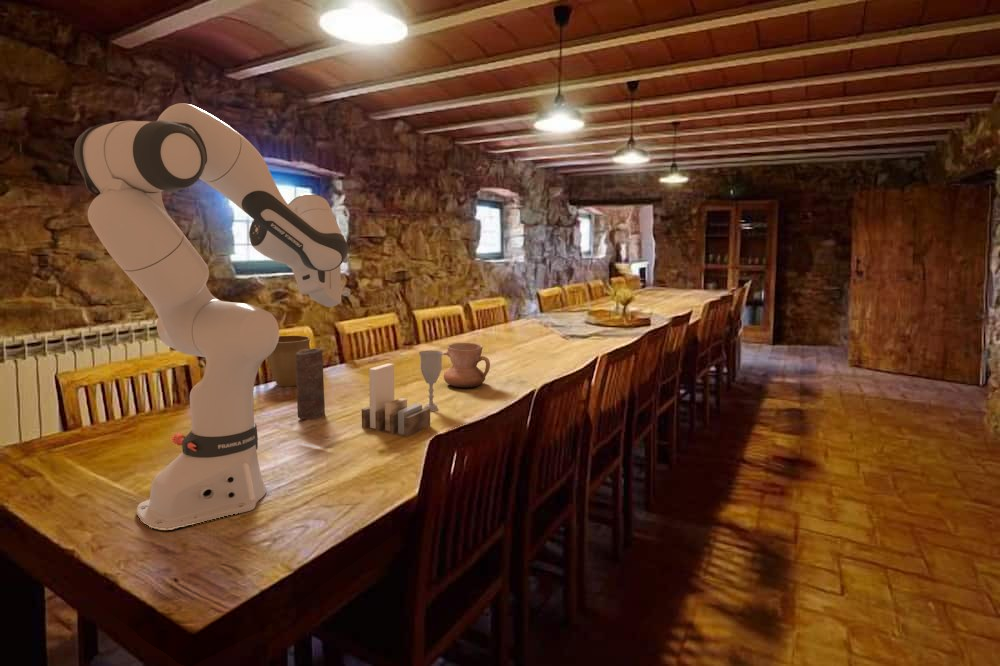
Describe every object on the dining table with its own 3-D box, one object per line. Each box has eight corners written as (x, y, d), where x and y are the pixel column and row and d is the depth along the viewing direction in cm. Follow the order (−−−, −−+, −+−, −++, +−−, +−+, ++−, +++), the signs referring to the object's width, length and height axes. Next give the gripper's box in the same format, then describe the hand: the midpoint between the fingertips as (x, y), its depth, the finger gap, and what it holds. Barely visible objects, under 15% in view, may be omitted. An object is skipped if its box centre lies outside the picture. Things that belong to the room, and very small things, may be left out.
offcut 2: (404, 434, 152) (404, 412, 151) (398, 433, 153) (397, 411, 152) (422, 426, 159) (422, 404, 158) (416, 424, 160) (415, 403, 159)
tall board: (376, 428, 156) (375, 369, 154) (370, 427, 157) (369, 368, 155) (394, 420, 163) (394, 364, 161) (388, 419, 164) (388, 363, 162)
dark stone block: (316, 424, 162) (314, 352, 159) (292, 422, 164) (289, 351, 160) (329, 416, 169) (327, 347, 166) (306, 414, 171) (304, 346, 168)
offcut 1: (391, 431, 155) (390, 405, 154) (385, 429, 156) (384, 404, 154) (407, 423, 161) (406, 399, 160) (401, 422, 162) (400, 397, 161)
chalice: (414, 413, 174) (413, 353, 171) (427, 407, 180) (427, 349, 177) (434, 417, 170) (435, 356, 167) (447, 411, 176) (448, 352, 173)
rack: (408, 440, 151) (407, 418, 150) (362, 431, 157) (361, 409, 156) (430, 429, 159) (430, 408, 158) (385, 420, 166) (385, 400, 165)
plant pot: (320, 383, 206) (319, 337, 203) (284, 392, 194) (282, 344, 191) (292, 376, 214) (290, 333, 211) (256, 385, 201) (253, 339, 199)
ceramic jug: (432, 386, 205) (433, 346, 202) (453, 377, 217) (454, 339, 215) (478, 394, 197) (479, 352, 194) (497, 384, 210) (498, 345, 207)
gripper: (299, 222, 145) (337, 244, 157) (299, 299, 138) (339, 315, 150) (319, 214, 142) (356, 236, 154) (320, 291, 135) (358, 309, 147)
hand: (347, 276), depth 152 cm, fingers open, 8 cm apart
